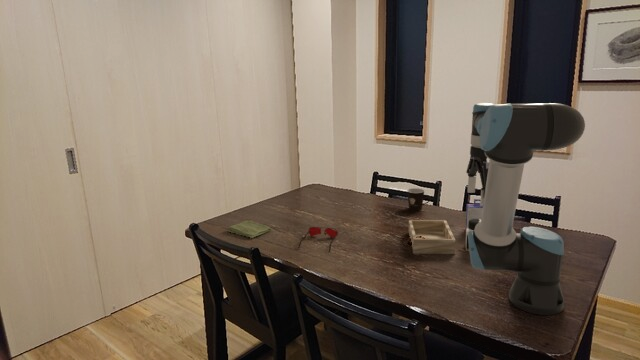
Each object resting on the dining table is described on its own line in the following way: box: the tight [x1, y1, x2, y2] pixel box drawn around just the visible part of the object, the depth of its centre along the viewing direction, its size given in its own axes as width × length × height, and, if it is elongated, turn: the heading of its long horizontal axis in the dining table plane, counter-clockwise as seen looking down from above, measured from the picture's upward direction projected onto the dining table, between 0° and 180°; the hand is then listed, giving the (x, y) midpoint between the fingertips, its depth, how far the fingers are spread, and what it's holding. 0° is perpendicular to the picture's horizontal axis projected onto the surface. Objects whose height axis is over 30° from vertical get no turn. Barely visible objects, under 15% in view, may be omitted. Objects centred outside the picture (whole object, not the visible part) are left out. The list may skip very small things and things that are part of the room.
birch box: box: [408, 219, 456, 255], centre depth 177 cm, size 22×16×6 cm
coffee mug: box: [406, 187, 431, 212], centre depth 217 cm, size 12×9×10 cm
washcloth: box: [227, 220, 271, 239], centre depth 198 cm, size 13×18×3 cm
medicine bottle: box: [465, 219, 481, 252], centre depth 169 cm, size 7×7×12 cm
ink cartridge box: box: [464, 198, 483, 231], centre depth 186 cm, size 10×6×14 cm, turn 78°
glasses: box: [297, 226, 339, 253], centre depth 181 cm, size 14×16×5 cm
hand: (477, 198), depth 164 cm, fingers open, 13 cm apart
